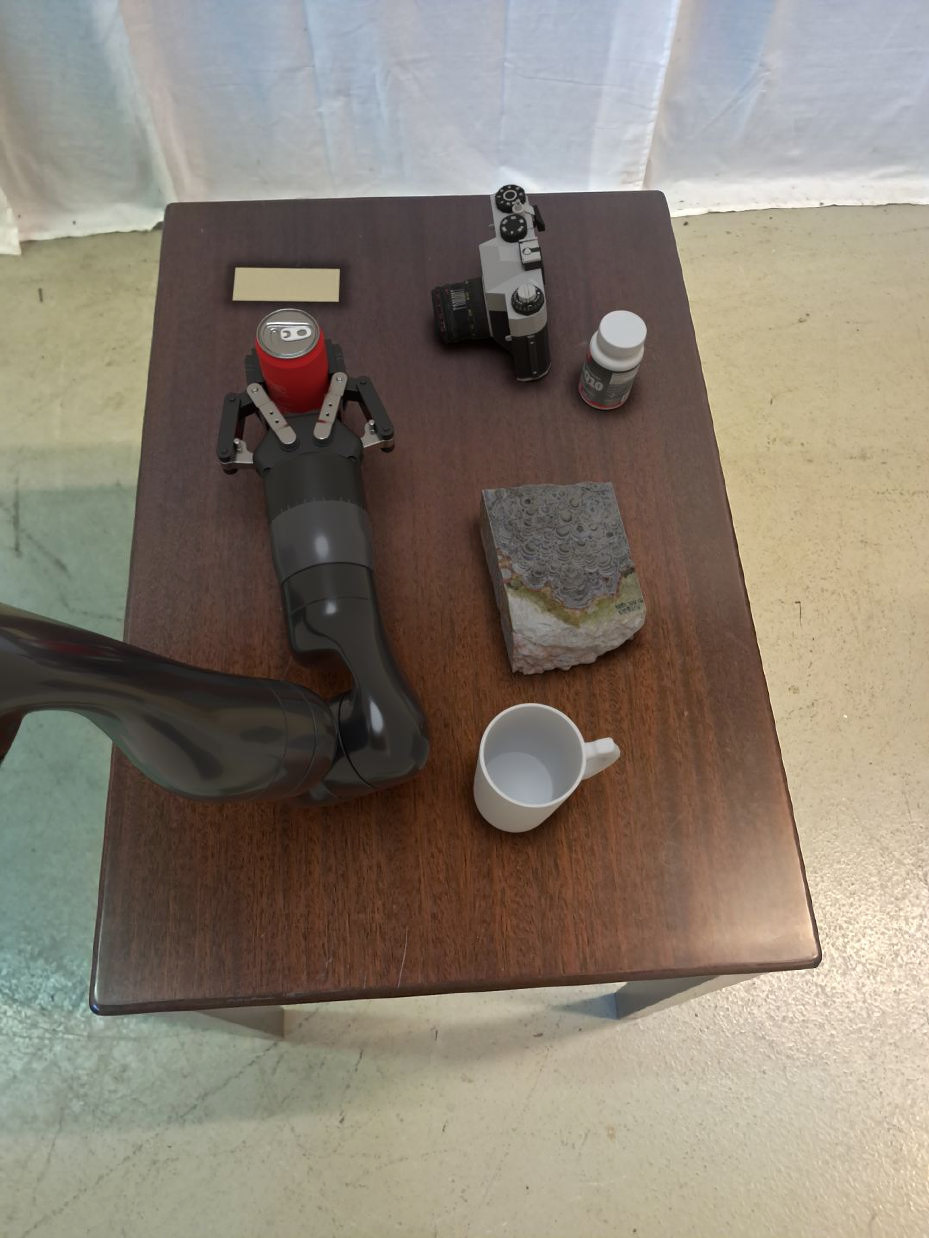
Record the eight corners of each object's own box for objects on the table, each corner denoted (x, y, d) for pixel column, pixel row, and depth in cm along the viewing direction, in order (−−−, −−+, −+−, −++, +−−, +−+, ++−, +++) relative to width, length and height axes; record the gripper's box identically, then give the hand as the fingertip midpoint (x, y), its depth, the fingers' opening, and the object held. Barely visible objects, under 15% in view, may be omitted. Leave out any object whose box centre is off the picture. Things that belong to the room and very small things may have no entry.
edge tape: (232, 301, 82) (232, 300, 82) (235, 268, 84) (235, 267, 84) (338, 302, 83) (338, 301, 83) (339, 270, 84) (339, 269, 84)
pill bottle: (569, 377, 81) (585, 314, 73) (615, 364, 82) (635, 300, 74) (590, 417, 79) (608, 357, 72) (637, 403, 80) (660, 342, 72)
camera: (435, 275, 86) (415, 193, 77) (542, 254, 85) (536, 169, 76) (448, 396, 81) (429, 324, 72) (564, 376, 80) (559, 300, 71)
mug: (478, 843, 64) (490, 816, 53) (462, 755, 67) (470, 711, 56) (609, 820, 65) (647, 788, 54) (588, 734, 68) (621, 687, 57)
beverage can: (274, 406, 77) (250, 309, 66) (333, 399, 77) (318, 302, 66) (280, 455, 75) (256, 364, 64) (340, 448, 75) (326, 356, 64)
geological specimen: (607, 465, 71) (659, 628, 65) (593, 506, 77) (639, 660, 71) (480, 481, 70) (520, 650, 64) (474, 522, 75) (511, 680, 69)
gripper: (415, 490, 62) (377, 305, 68) (211, 520, 60) (191, 328, 66) (416, 539, 69) (381, 368, 75) (233, 568, 67) (213, 390, 73)
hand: (292, 350), depth 71 cm, fingers closed on beverage can, 5 cm apart
